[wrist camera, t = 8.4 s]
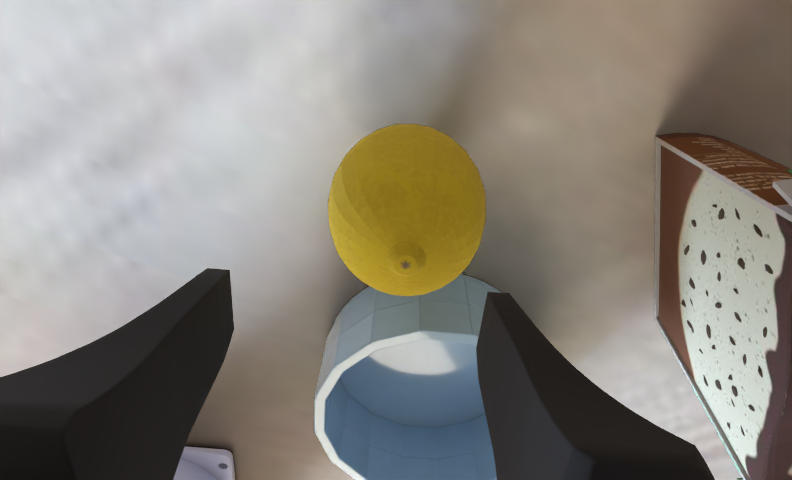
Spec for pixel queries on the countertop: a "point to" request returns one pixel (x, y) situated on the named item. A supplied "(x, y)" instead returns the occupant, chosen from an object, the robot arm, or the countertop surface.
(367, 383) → the pan
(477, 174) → the lemon
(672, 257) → the food container
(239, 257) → the countertop surface
